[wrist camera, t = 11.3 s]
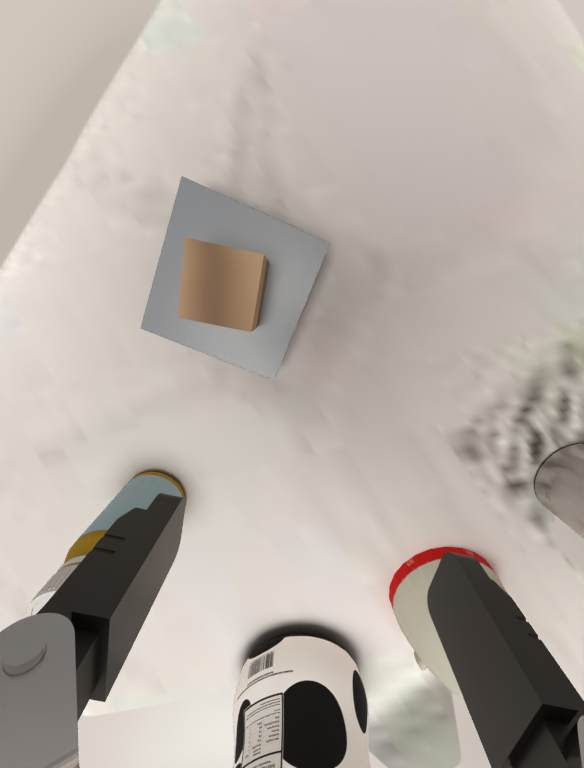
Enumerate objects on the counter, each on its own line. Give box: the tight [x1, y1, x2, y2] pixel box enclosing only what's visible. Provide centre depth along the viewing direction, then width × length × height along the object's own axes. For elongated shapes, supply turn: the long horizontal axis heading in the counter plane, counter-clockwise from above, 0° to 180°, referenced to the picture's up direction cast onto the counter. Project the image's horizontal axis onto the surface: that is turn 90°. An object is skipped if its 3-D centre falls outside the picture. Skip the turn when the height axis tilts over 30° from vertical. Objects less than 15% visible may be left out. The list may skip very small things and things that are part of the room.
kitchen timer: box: [389, 547, 508, 699], centre depth 33 cm, size 14×14×15 cm
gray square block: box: [141, 176, 330, 381], centre depth 28 cm, size 12×12×6 cm
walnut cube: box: [178, 238, 269, 332], centre depth 22 cm, size 5×5×5 cm
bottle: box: [26, 472, 185, 617], centre depth 29 cm, size 7×7×15 cm
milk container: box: [233, 634, 371, 768], centre depth 36 cm, size 17×17×18 cm
